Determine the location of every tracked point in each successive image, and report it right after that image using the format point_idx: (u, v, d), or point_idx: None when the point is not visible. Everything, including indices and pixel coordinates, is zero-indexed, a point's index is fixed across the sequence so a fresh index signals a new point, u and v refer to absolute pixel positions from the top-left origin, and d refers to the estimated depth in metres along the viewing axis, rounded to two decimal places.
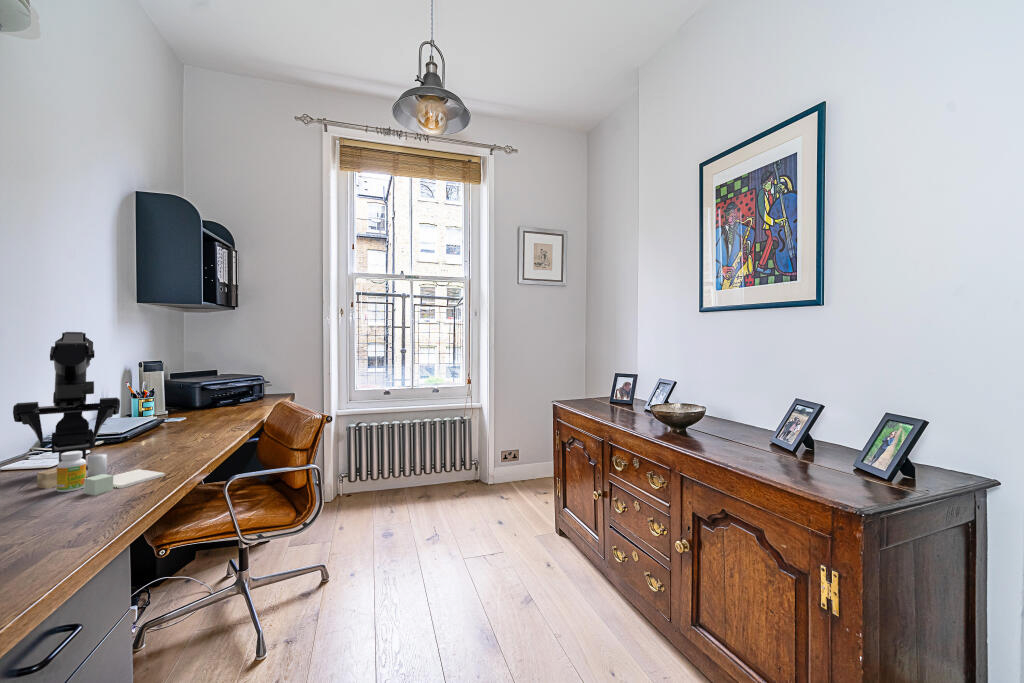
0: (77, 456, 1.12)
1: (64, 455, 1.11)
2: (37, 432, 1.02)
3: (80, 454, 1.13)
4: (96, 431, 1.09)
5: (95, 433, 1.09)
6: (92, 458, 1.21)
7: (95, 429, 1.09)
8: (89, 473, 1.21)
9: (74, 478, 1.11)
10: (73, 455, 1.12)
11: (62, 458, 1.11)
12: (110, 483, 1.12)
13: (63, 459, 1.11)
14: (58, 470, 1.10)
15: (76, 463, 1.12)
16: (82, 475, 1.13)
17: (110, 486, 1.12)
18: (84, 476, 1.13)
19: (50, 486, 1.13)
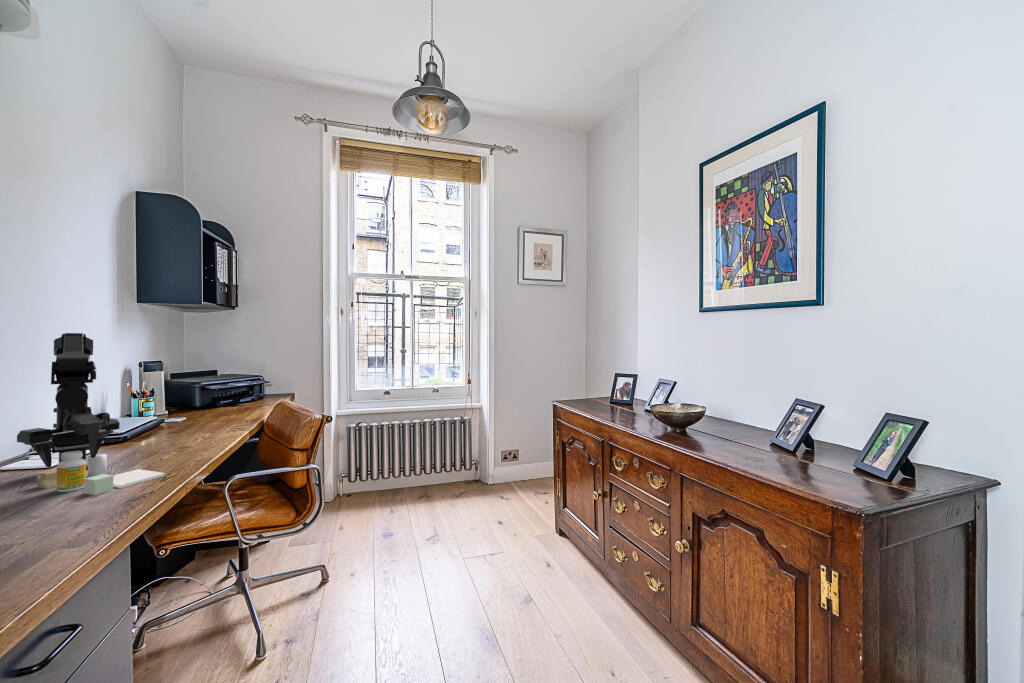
0: (77, 456, 1.12)
1: (64, 455, 1.11)
2: (47, 458, 1.07)
3: (80, 454, 1.13)
4: (96, 452, 1.17)
5: (95, 454, 1.17)
6: (92, 458, 1.21)
7: (95, 450, 1.17)
8: (89, 473, 1.21)
9: (74, 478, 1.11)
10: (73, 455, 1.12)
11: (62, 458, 1.11)
12: (110, 483, 1.12)
13: (63, 459, 1.11)
14: (58, 470, 1.10)
15: (76, 463, 1.12)
16: (82, 475, 1.13)
17: (110, 486, 1.12)
18: (84, 476, 1.13)
19: (50, 486, 1.13)
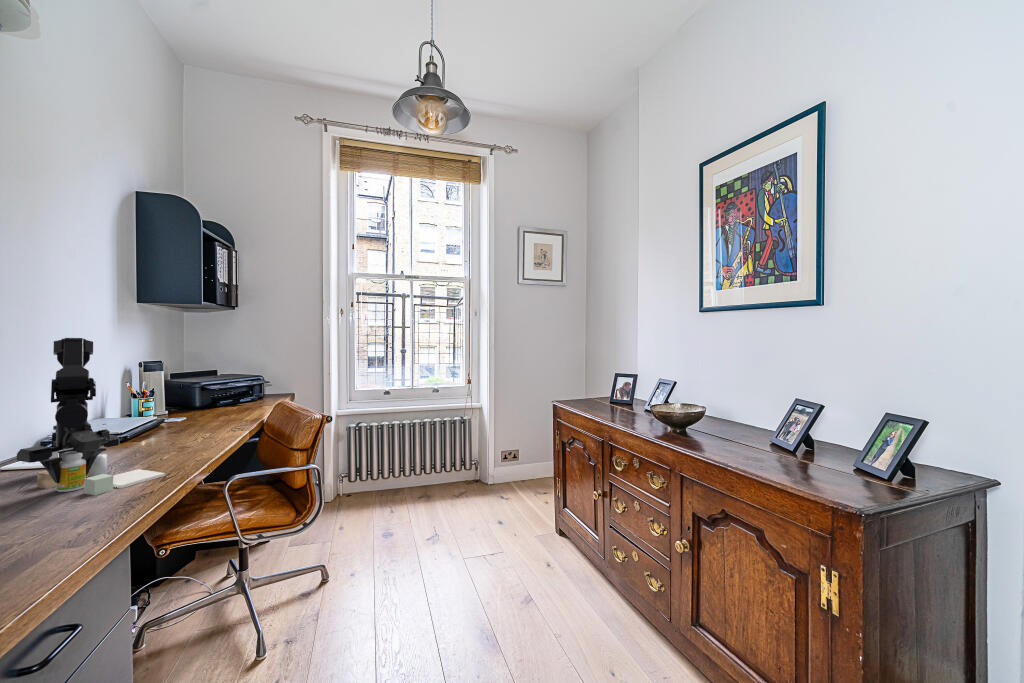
0: (77, 456, 1.12)
1: (64, 455, 1.11)
2: (56, 474, 1.09)
3: (80, 454, 1.13)
4: (88, 471, 1.15)
5: (87, 473, 1.15)
6: None
7: (87, 469, 1.15)
8: (89, 473, 1.21)
9: (74, 478, 1.11)
10: (73, 455, 1.12)
11: (62, 458, 1.11)
12: (110, 483, 1.12)
13: (63, 459, 1.11)
14: None
15: (76, 463, 1.12)
16: (82, 475, 1.13)
17: (110, 486, 1.12)
18: (84, 476, 1.13)
19: (50, 486, 1.13)
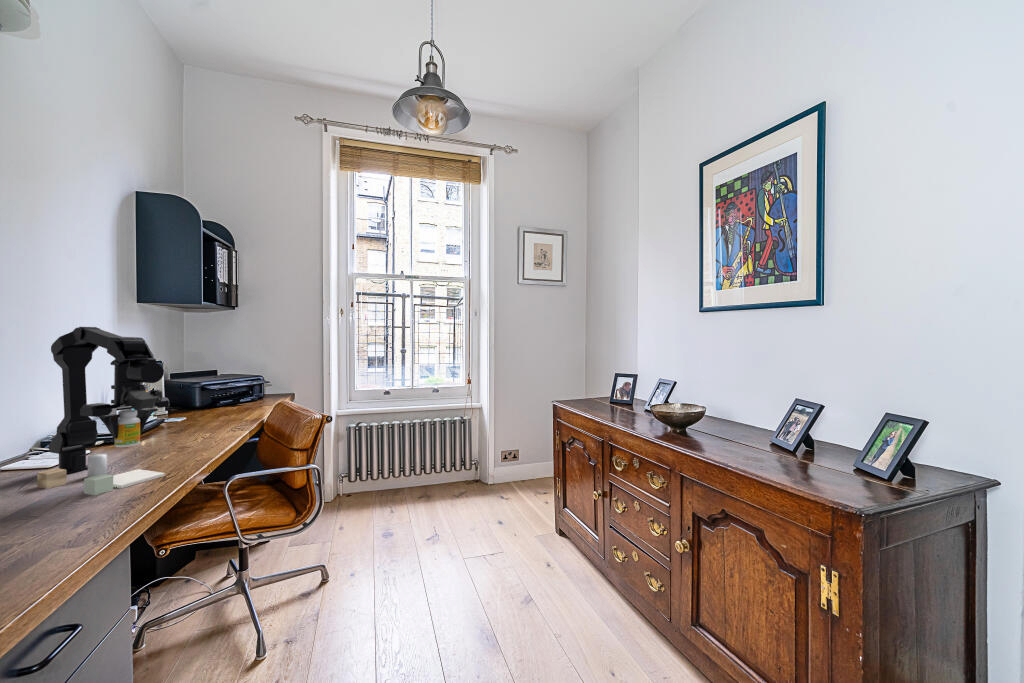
0: (133, 414, 1.19)
1: (121, 412, 1.18)
2: (114, 430, 1.16)
3: (135, 412, 1.20)
4: (142, 429, 1.23)
5: (141, 431, 1.23)
6: (92, 458, 1.21)
7: (141, 427, 1.22)
8: (89, 473, 1.21)
9: (131, 435, 1.18)
10: (129, 413, 1.19)
11: None
12: (110, 483, 1.12)
13: (120, 416, 1.18)
14: None
15: (132, 420, 1.19)
16: (138, 432, 1.20)
17: (110, 486, 1.12)
18: (138, 433, 1.21)
19: (50, 486, 1.13)
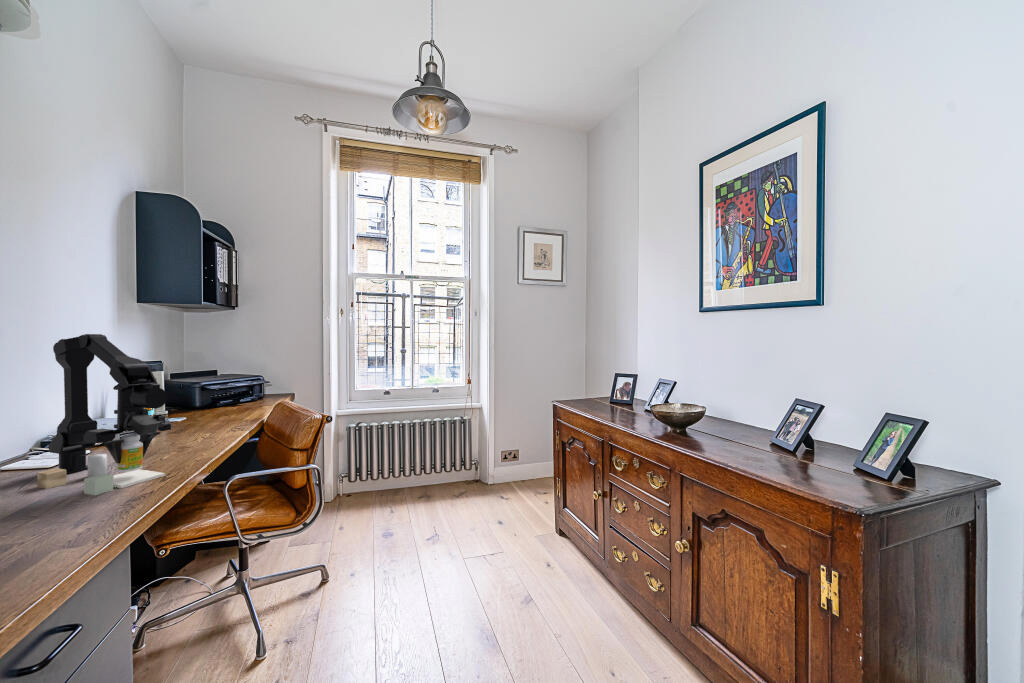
0: (136, 439, 1.20)
1: (124, 437, 1.19)
2: (118, 455, 1.17)
3: (138, 437, 1.21)
4: (144, 453, 1.23)
5: (143, 454, 1.23)
6: (92, 458, 1.21)
7: (144, 451, 1.23)
8: (89, 473, 1.21)
9: (134, 459, 1.19)
10: (132, 437, 1.19)
11: None
12: (110, 483, 1.12)
13: (123, 441, 1.19)
14: None
15: (135, 445, 1.20)
16: (140, 457, 1.21)
17: (110, 486, 1.12)
18: (141, 457, 1.21)
19: (50, 486, 1.13)
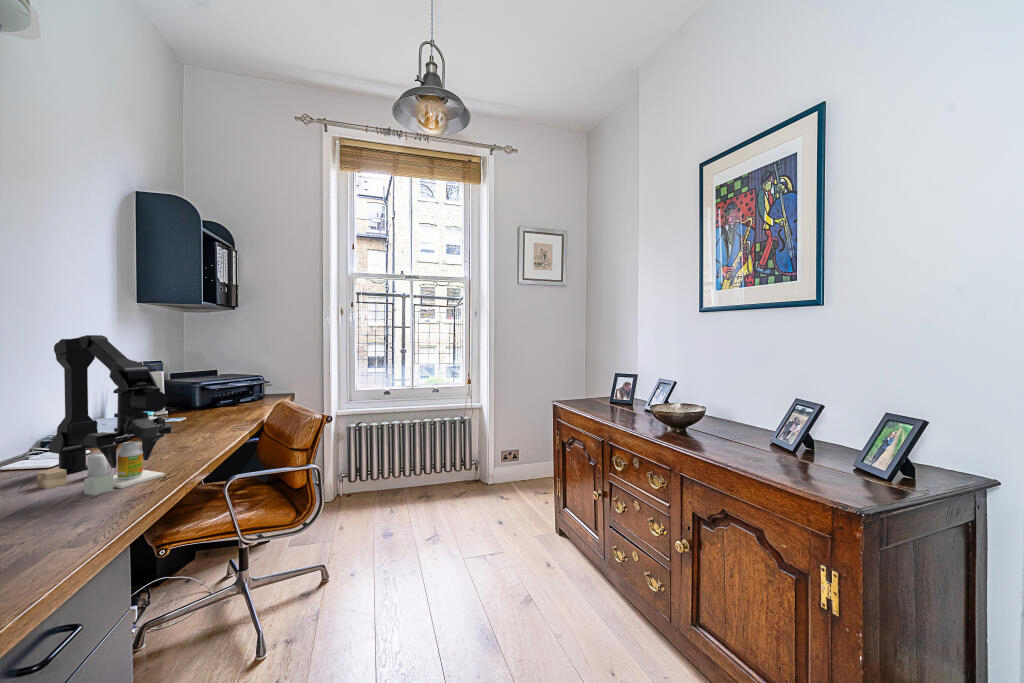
0: (136, 446, 1.20)
1: (124, 445, 1.19)
2: (113, 460, 1.16)
3: (138, 444, 1.21)
4: (148, 455, 1.24)
5: (147, 457, 1.24)
6: (92, 458, 1.21)
7: (148, 454, 1.24)
8: (89, 473, 1.21)
9: (134, 467, 1.19)
10: (132, 445, 1.19)
11: (122, 448, 1.19)
12: (110, 483, 1.12)
13: (123, 449, 1.19)
14: (119, 459, 1.18)
15: (135, 452, 1.20)
16: (140, 464, 1.21)
17: (110, 486, 1.12)
18: (141, 464, 1.21)
19: (50, 486, 1.13)
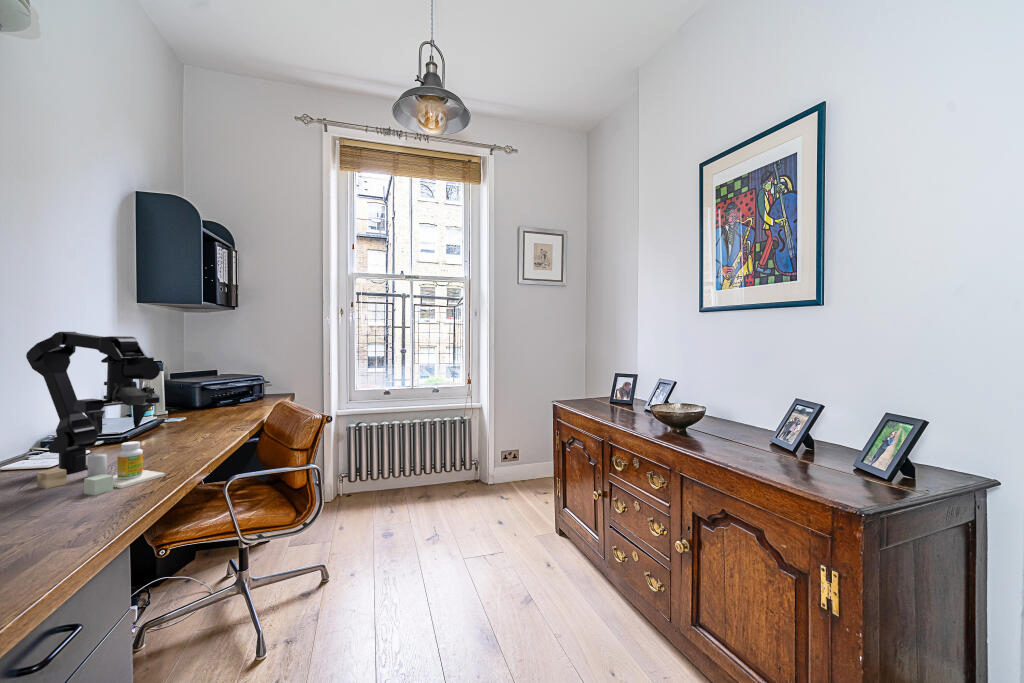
0: (136, 446, 1.20)
1: (124, 445, 1.19)
2: (99, 425, 1.20)
3: (138, 444, 1.21)
4: (139, 423, 1.30)
5: (138, 424, 1.30)
6: (92, 458, 1.21)
7: (138, 421, 1.30)
8: (89, 473, 1.21)
9: (134, 467, 1.19)
10: (132, 445, 1.19)
11: (122, 448, 1.19)
12: (110, 483, 1.12)
13: (123, 449, 1.19)
14: (119, 459, 1.18)
15: (135, 452, 1.20)
16: (140, 464, 1.21)
17: (110, 486, 1.12)
18: (141, 464, 1.21)
19: (50, 486, 1.13)
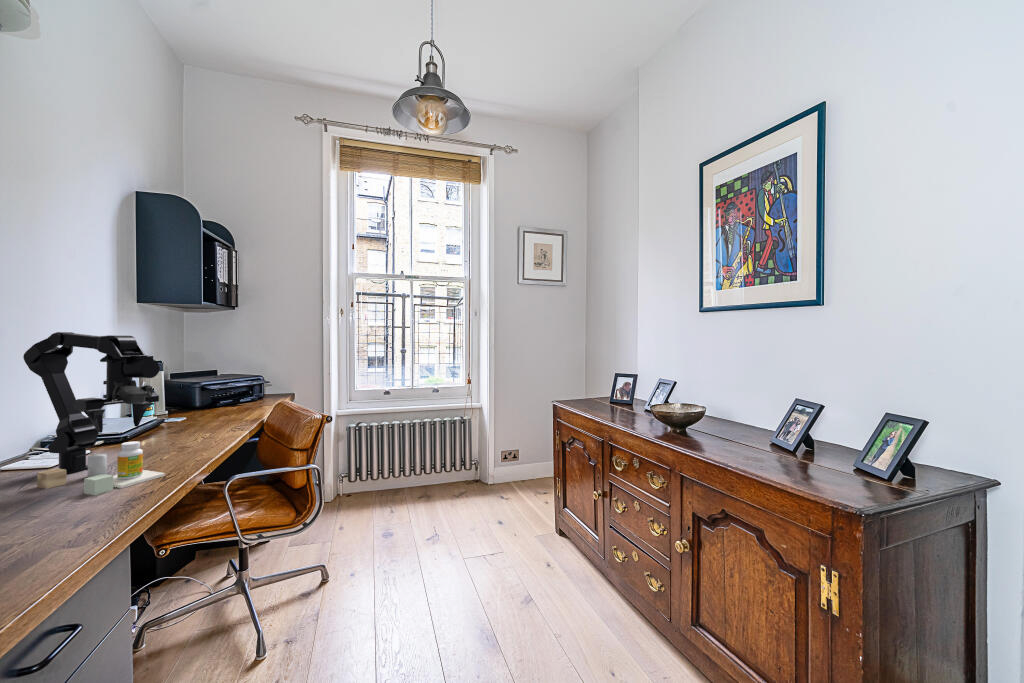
0: (136, 446, 1.20)
1: (124, 445, 1.19)
2: (99, 424, 1.21)
3: (138, 444, 1.21)
4: (139, 422, 1.31)
5: (138, 423, 1.31)
6: (92, 458, 1.21)
7: (138, 420, 1.30)
8: (89, 473, 1.21)
9: (134, 467, 1.19)
10: (132, 445, 1.19)
11: (122, 448, 1.19)
12: (110, 483, 1.12)
13: (123, 449, 1.19)
14: (119, 459, 1.18)
15: (135, 452, 1.20)
16: (140, 464, 1.21)
17: (110, 486, 1.12)
18: (141, 464, 1.21)
19: (50, 486, 1.13)
